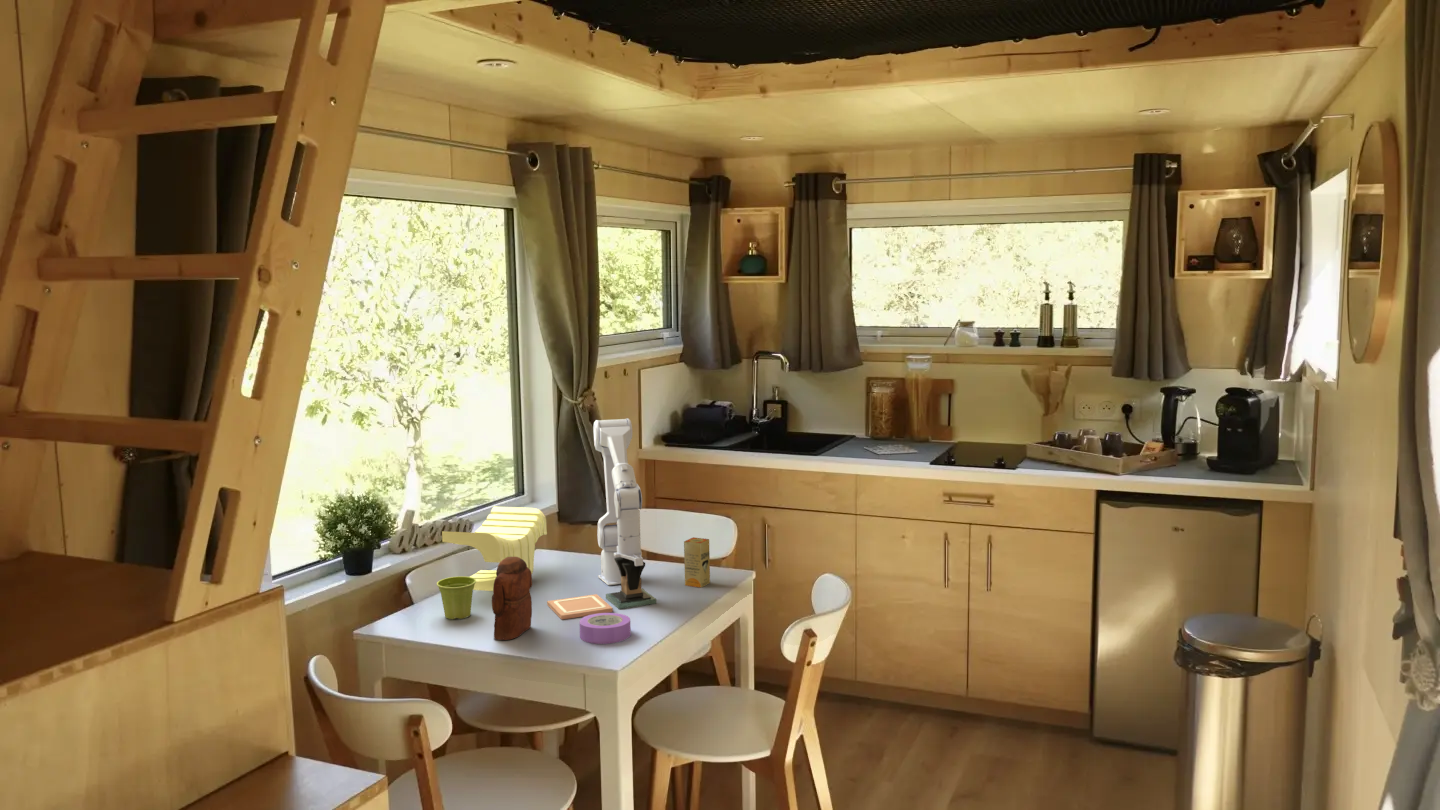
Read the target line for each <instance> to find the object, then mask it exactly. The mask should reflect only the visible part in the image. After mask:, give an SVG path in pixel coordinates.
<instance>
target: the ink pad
mask: <svg viewBox="0 0 1440 810" xmlns="http://www.w3.org/2000/svg"><path fill="white" fill-rule="evenodd" d="M641 589H642V592H643V596H639V597H632V598H625V597H624V596H622V595H621V594H620V591H617V592H609V593H605V599H606V600H607V601H608V602H609V603H611V604H612V605H613V606H614V607H616V609H618V610H621V609H629V608H633V607H641V606H642V605H643V606H649V604H650V605H655V604H657V599H656V598H655V597H654V596H653V595H652V594H650V593H649V592H647V590H645V589H643V588H641Z"/></svg>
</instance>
